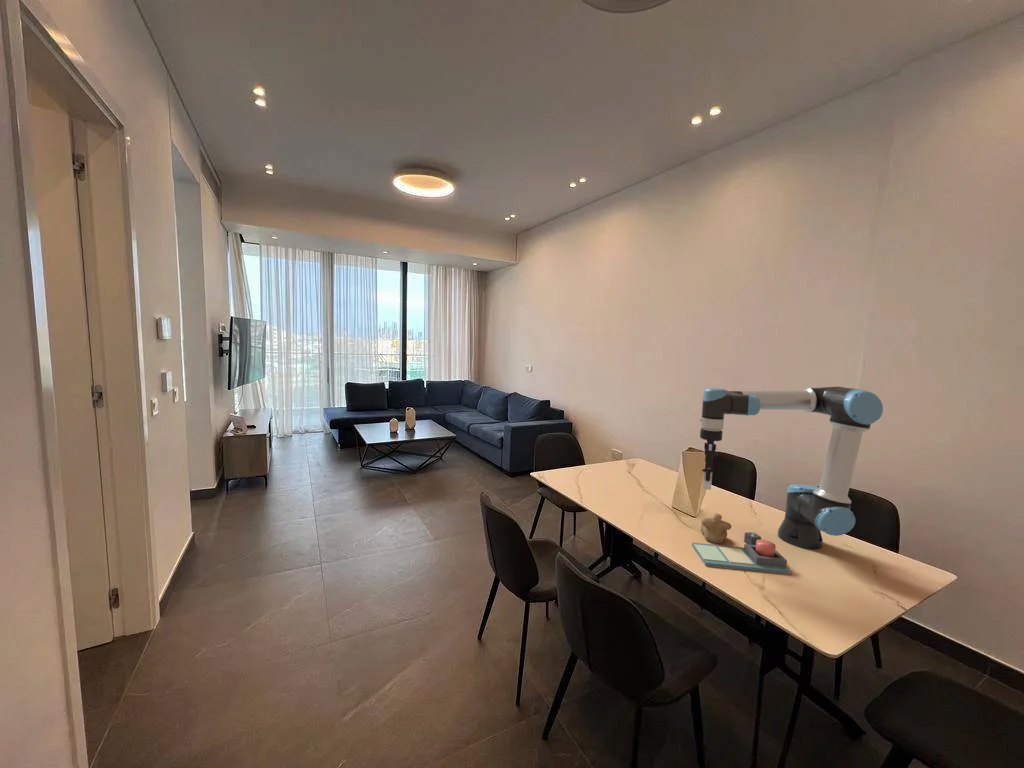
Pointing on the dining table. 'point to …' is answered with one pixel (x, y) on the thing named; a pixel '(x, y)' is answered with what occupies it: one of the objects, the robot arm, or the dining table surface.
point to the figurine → (715, 529)
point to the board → (740, 558)
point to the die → (751, 538)
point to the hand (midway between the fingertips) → (706, 483)
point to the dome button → (765, 548)
